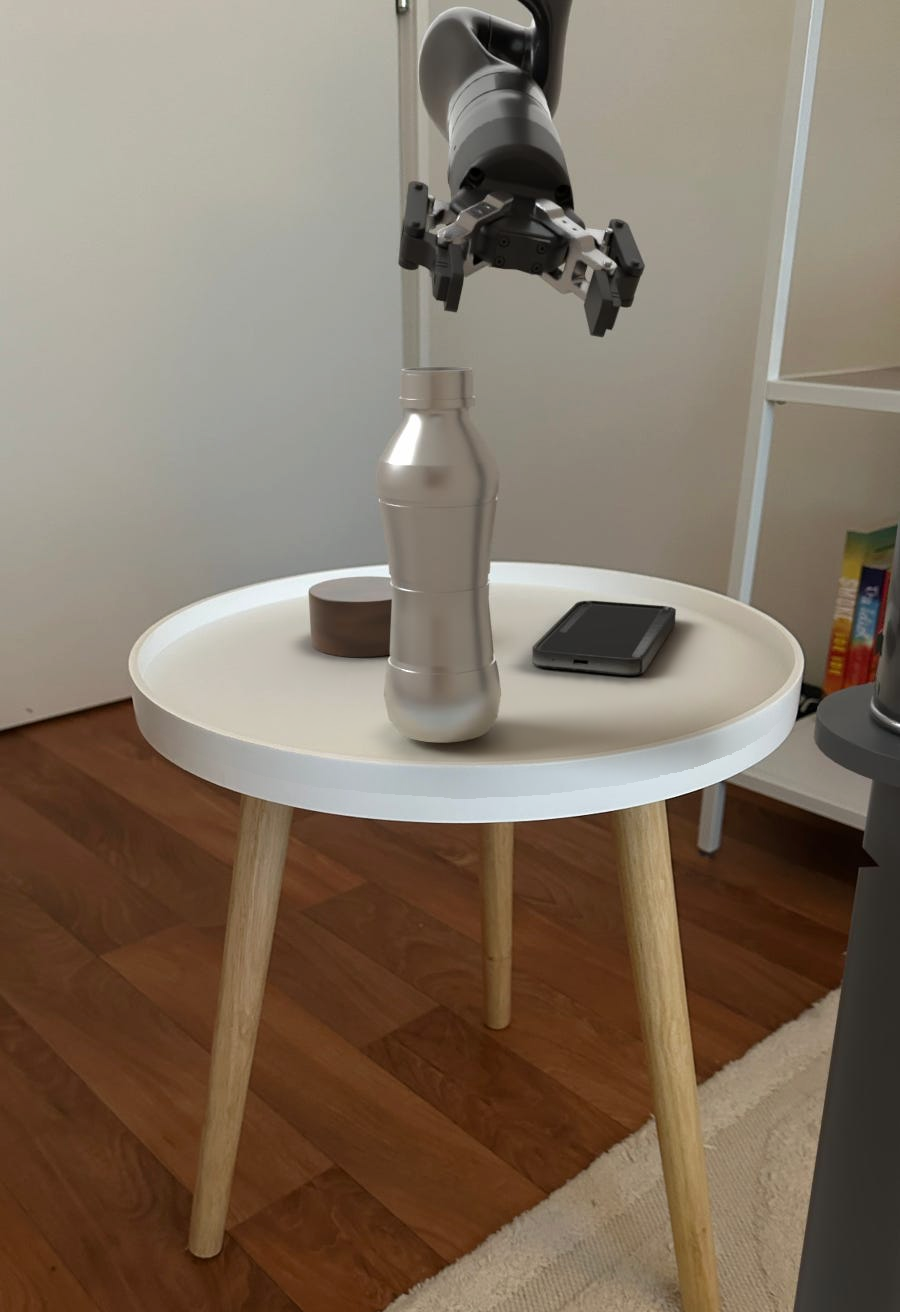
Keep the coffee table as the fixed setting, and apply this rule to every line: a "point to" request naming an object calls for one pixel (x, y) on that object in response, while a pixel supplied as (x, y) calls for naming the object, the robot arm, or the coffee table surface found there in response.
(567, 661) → the phone
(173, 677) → the coffee table surface
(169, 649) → the coffee table surface
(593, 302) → the robot arm
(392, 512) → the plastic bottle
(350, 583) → the cylinder
